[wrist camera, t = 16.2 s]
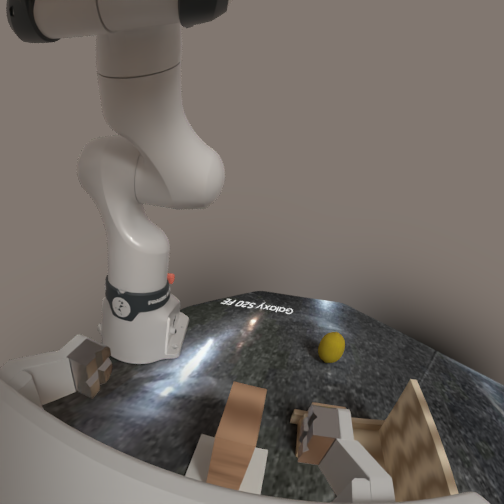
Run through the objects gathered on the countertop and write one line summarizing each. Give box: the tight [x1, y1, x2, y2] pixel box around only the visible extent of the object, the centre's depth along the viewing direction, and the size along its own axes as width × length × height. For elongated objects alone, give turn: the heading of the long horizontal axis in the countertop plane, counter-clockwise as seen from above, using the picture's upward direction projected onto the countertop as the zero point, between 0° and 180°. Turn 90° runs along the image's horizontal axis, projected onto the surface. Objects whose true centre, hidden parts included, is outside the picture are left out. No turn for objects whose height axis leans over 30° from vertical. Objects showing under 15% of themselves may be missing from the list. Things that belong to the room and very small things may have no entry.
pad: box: [185, 434, 268, 495], centre depth 33 cm, size 10×10×1 cm
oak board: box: [206, 382, 267, 490], centre depth 31 cm, size 9×4×13 cm, turn 171°
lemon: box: [318, 332, 345, 363], centre depth 61 cm, size 6×6×8 cm
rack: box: [290, 379, 458, 502], centre depth 30 cm, size 25×17×13 cm
